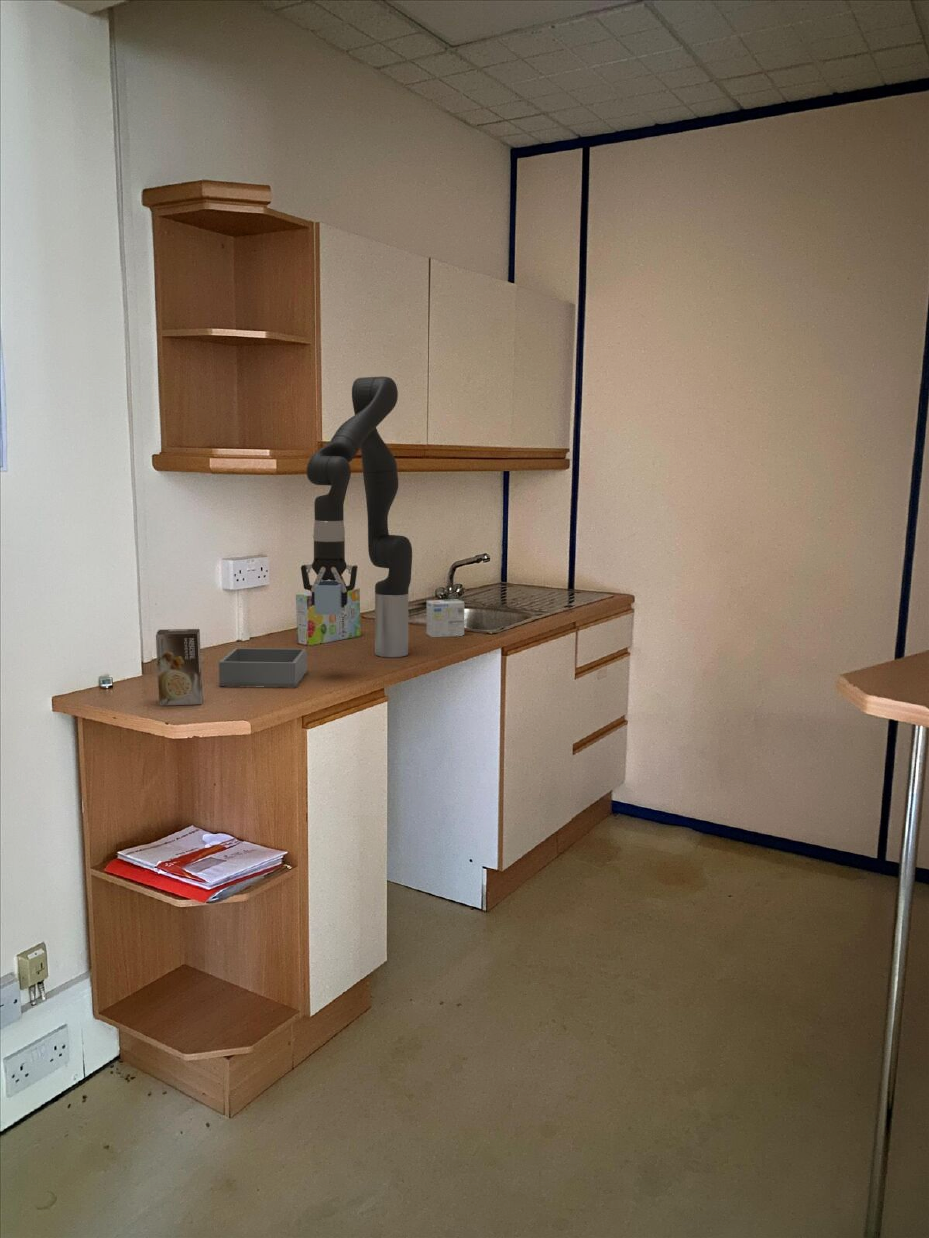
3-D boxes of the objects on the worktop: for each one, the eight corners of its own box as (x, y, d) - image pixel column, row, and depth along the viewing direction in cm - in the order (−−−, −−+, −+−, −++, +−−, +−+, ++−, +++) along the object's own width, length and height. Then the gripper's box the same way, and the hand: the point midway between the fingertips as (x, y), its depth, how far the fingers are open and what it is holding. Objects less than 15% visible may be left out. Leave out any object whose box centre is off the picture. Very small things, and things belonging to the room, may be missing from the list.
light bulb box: (457, 632, 307) (458, 598, 305) (465, 636, 301) (465, 601, 299) (425, 634, 303) (425, 599, 302) (432, 638, 297) (432, 603, 295)
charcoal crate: (235, 671, 248) (235, 648, 247) (306, 672, 248) (306, 649, 247) (219, 686, 231) (218, 662, 230) (295, 687, 232) (295, 663, 231)
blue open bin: (320, 608, 246) (320, 580, 244) (344, 608, 246) (344, 580, 245) (314, 614, 236) (314, 585, 235) (339, 614, 236) (339, 586, 235)
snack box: (348, 634, 301) (348, 586, 299) (361, 636, 298) (361, 587, 295) (295, 644, 285) (295, 592, 282) (308, 646, 281) (308, 594, 279)
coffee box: (203, 697, 221) (201, 628, 218) (201, 705, 215) (198, 633, 212) (161, 699, 219) (159, 628, 217) (157, 706, 213) (155, 634, 211)
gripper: (360, 538, 242) (360, 605, 244) (301, 537, 241) (302, 604, 244) (357, 540, 234) (357, 609, 237) (297, 539, 234) (297, 609, 237)
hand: (329, 606), depth 241 cm, fingers closed on blue open bin, 6 cm apart
